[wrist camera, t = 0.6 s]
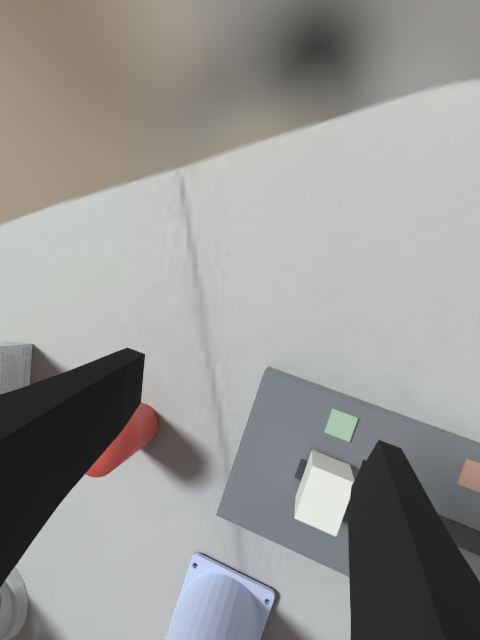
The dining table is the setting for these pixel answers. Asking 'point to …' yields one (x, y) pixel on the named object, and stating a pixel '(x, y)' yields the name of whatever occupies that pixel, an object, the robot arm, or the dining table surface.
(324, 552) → the breaker panel
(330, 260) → the dining table surface
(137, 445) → the pin
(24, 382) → the light bulb box
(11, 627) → the french press
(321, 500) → the lever
